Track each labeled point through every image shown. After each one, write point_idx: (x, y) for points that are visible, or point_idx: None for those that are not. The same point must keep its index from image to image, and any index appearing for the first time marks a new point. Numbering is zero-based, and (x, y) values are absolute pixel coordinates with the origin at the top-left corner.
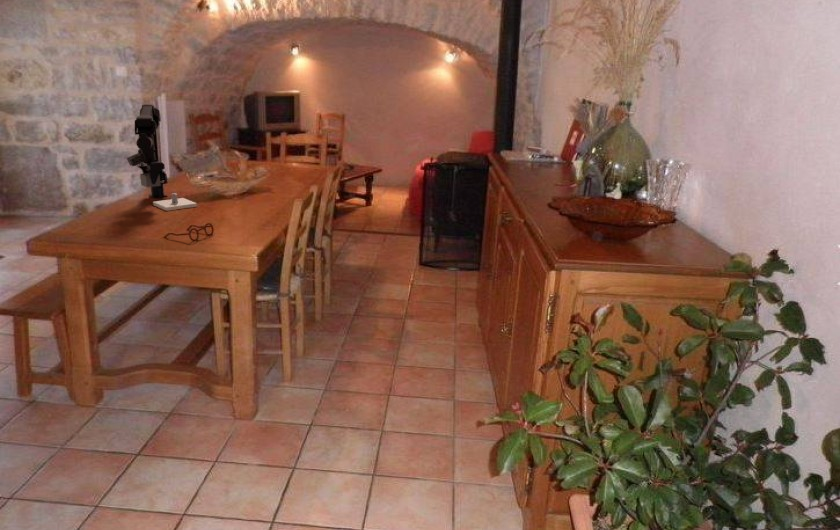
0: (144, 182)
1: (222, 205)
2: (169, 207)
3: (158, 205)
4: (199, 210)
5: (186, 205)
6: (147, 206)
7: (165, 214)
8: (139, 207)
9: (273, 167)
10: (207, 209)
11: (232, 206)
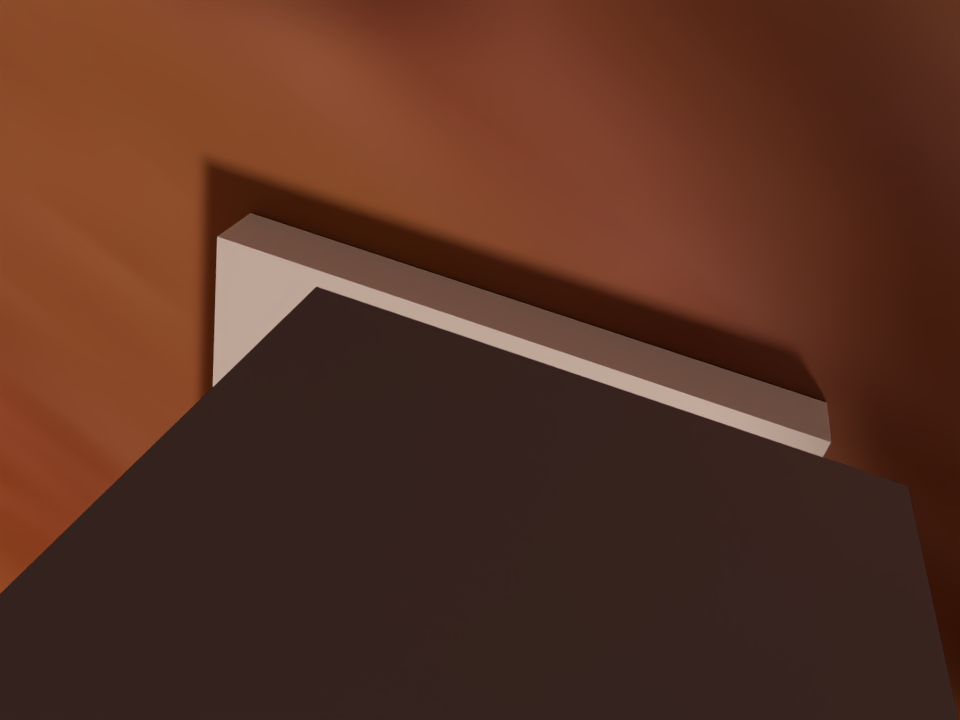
0: (449, 456)
1: None
2: (218, 286)
3: (561, 335)
4: (32, 463)
5: None
6: (832, 265)
7: (31, 21)
8: (922, 98)
9: None
10: (34, 536)
11: None
